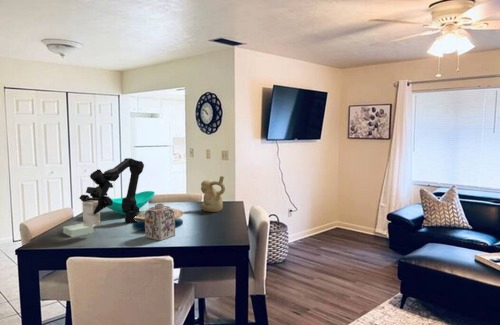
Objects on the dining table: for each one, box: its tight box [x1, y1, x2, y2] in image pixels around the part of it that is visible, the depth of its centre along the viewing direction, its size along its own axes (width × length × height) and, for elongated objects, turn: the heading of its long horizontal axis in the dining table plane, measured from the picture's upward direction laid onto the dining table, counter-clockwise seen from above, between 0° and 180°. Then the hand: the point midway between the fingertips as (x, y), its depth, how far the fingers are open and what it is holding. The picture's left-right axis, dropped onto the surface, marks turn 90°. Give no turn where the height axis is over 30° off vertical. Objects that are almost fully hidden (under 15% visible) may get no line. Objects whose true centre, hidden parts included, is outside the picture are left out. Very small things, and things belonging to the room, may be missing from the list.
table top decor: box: [107, 190, 156, 215], centre depth 256 cm, size 40×28×13 cm
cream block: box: [82, 200, 101, 228], centre depth 198 cm, size 6×6×13 cm
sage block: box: [62, 222, 95, 238], centre depth 208 cm, size 12×12×4 cm
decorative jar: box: [144, 202, 176, 242], centre depth 199 cm, size 12×12×18 cm
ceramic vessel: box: [200, 175, 226, 213], centre depth 262 cm, size 17×20×25 cm
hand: (88, 213), depth 197 cm, fingers closed on cream block, 7 cm apart
